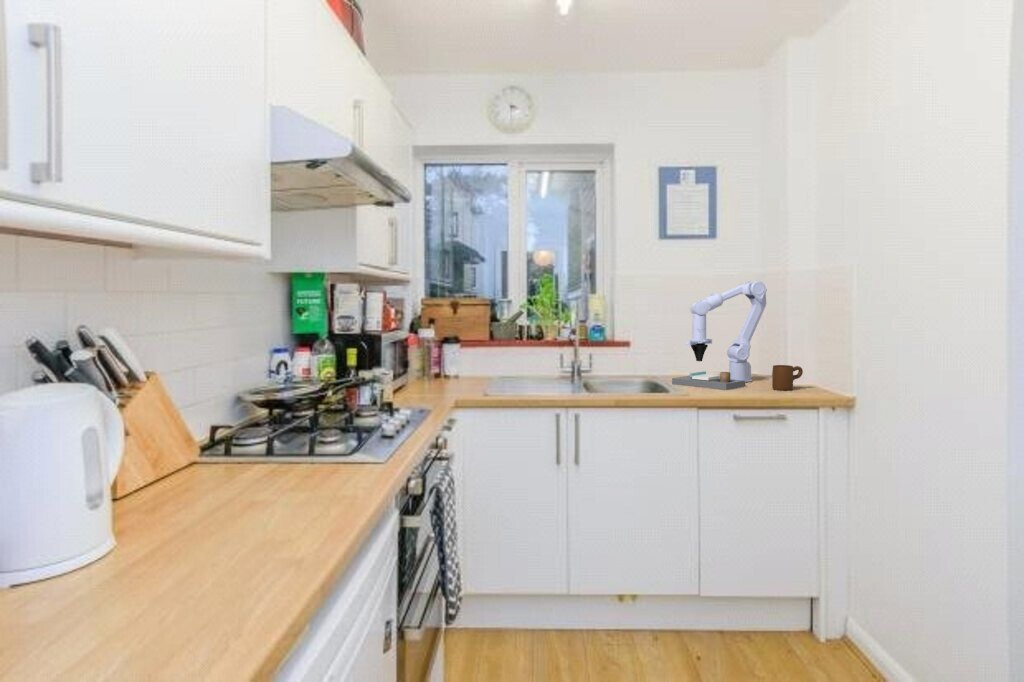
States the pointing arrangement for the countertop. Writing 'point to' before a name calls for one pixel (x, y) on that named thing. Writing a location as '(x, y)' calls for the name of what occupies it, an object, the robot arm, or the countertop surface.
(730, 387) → the housing
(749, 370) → the robot arm
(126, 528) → the countertop surface
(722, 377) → the peg
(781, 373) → the mug
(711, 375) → the lid
